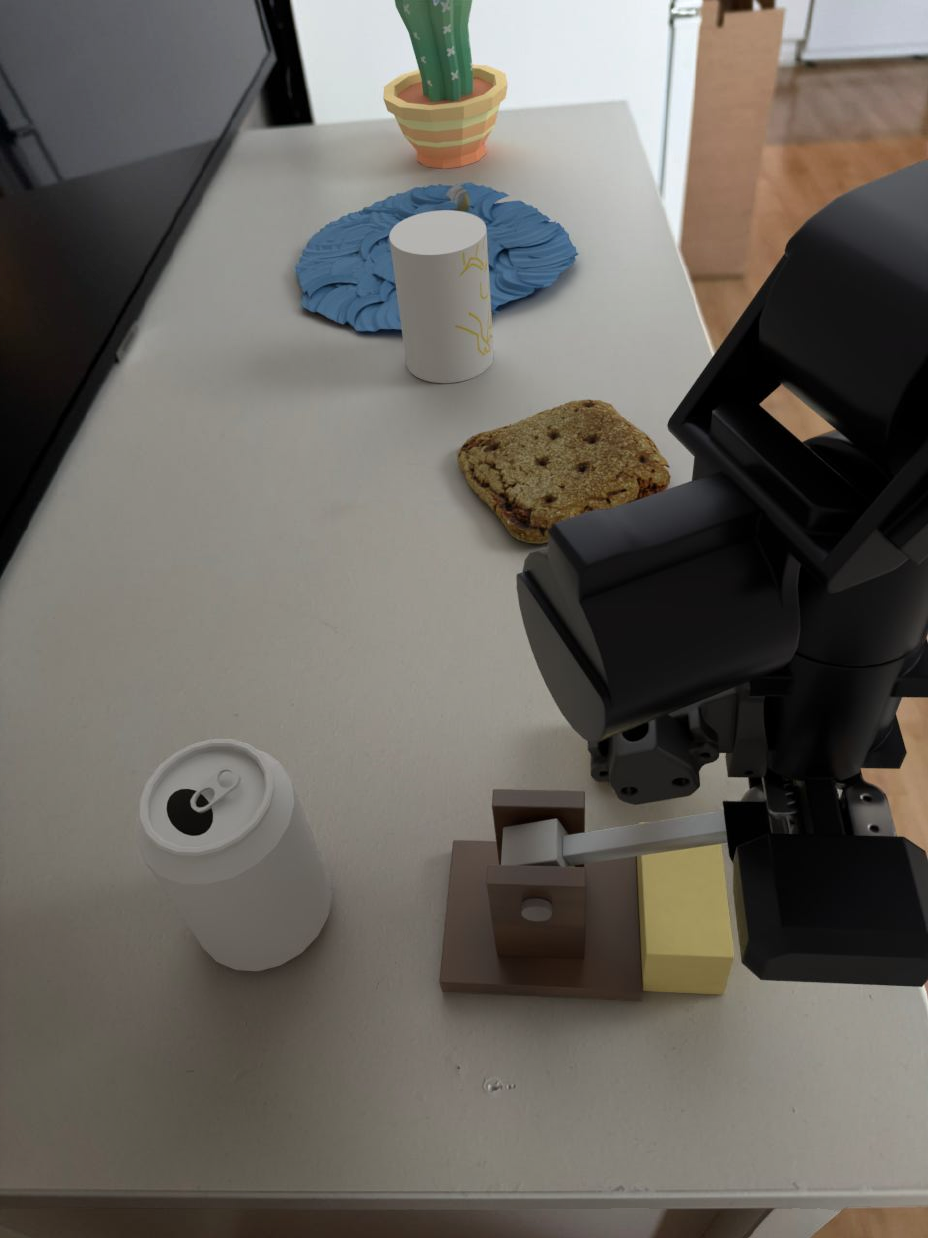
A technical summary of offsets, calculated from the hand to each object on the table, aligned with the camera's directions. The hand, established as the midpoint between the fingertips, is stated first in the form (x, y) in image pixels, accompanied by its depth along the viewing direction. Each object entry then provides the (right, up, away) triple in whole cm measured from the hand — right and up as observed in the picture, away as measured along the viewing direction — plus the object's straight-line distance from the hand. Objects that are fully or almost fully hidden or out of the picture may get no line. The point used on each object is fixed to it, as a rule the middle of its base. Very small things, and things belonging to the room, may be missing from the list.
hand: (768, 841), depth 43 cm
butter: (-3, -6, +7) cm, 9 cm away
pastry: (-6, +21, +33) cm, 39 cm away
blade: (-4, -1, +2) cm, 5 cm away
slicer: (-9, -6, +8) cm, 14 cm away
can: (-24, -6, +10) cm, 27 cm away
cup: (-15, +34, +46) cm, 59 cm away
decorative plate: (-17, +48, +59) cm, 77 cm away
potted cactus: (-15, +69, +78) cm, 105 cm away
